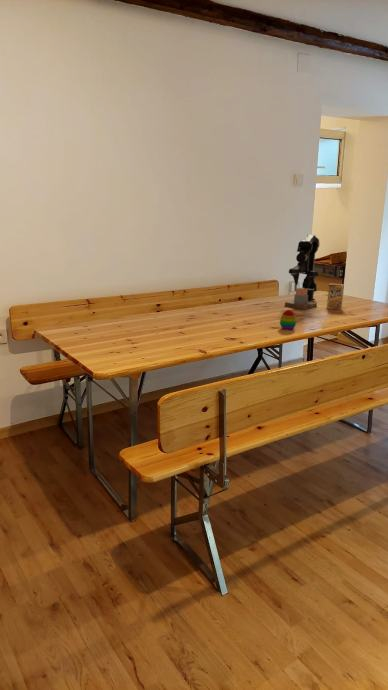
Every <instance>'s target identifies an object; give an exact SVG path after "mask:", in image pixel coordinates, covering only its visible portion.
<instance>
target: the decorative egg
mask: <svg viewBox="0 0 388 690" xmlns="http://www.w3.org/2000/svg"><path fill="white" fill-rule="evenodd" d="M296 317H297V316H296V315H295V313H294V312H293V310H291V309H286V310H285V311H283V313H282V314H281V316H280V320H279V324H280V325H279V326H280V328H282V329H283V330H287V331H291V330H294V329H295V327H296V324H297V318H296Z"/></svg>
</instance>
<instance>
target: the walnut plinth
mask: <svg viewBox="0 0 388 690" xmlns="http://www.w3.org/2000/svg"><path fill="white" fill-rule="evenodd" d="M317 304H318V303H317V302H314V301H313V302H312V301H308V303H305V304H299V303H294V300H289V301H285V302H284V307H287V308H293V309H297V310H301V311H304V310H311V309H313V308H314V309H315V308H317V306H318V305H317Z"/></svg>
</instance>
